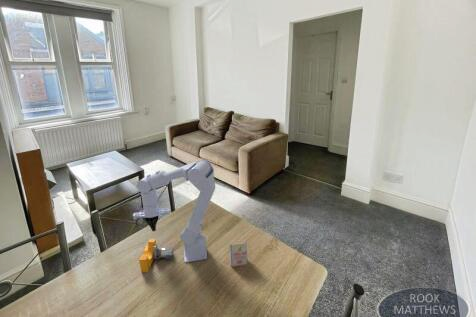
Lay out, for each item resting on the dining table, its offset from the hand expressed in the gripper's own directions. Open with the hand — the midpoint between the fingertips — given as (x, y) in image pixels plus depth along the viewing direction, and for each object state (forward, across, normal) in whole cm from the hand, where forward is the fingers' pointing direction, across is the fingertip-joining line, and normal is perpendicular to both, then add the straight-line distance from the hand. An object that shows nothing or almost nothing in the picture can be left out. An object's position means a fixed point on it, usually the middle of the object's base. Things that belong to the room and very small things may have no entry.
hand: (154, 229), depth 105 cm
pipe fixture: (+9, -4, +7) cm, 12 cm away
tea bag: (+10, -34, +18) cm, 40 cm away
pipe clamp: (+10, +3, +8) cm, 13 cm away
